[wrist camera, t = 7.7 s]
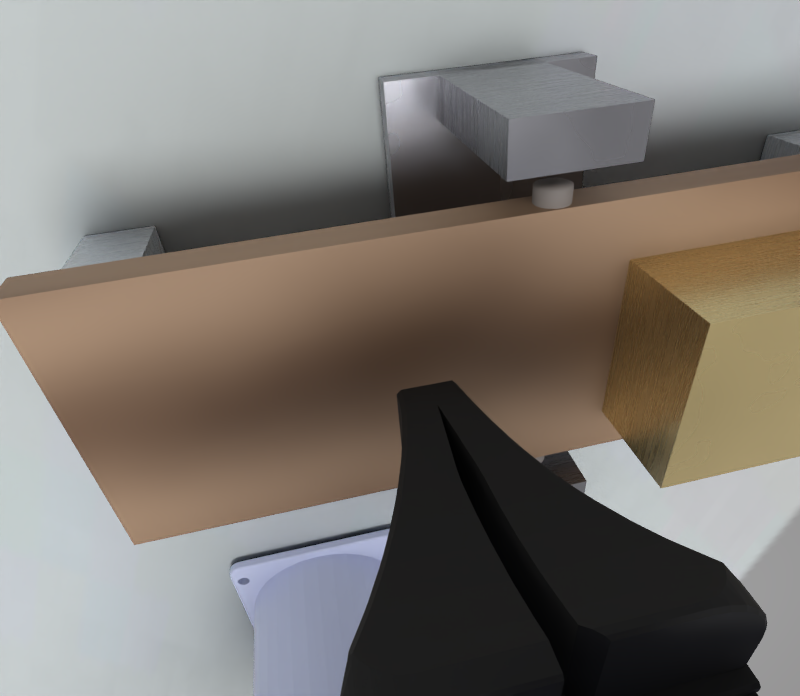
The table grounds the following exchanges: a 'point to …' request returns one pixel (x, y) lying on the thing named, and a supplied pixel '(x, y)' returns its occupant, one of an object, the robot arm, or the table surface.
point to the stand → (485, 147)
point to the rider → (709, 359)
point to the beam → (357, 339)
